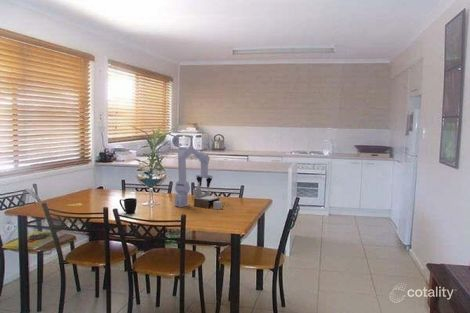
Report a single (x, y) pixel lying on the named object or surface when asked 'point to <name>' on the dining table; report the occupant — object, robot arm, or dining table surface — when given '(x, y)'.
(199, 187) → the crystal
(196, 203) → the frame
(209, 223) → the dining table surface
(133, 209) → the mug
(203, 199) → the trapdoor
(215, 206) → the white block
